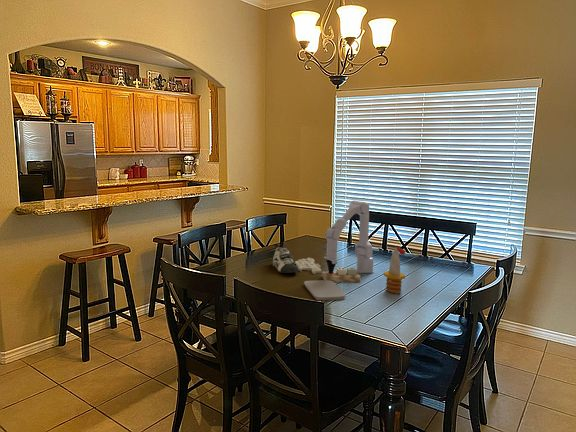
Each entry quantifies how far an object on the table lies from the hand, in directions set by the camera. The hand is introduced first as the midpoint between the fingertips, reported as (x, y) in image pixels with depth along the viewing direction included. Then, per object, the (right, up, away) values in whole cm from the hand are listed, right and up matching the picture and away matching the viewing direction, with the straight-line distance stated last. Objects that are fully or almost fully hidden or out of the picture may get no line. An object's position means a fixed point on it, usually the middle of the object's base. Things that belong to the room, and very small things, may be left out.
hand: (330, 272), depth 249 cm
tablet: (-6, -8, -21) cm, 23 cm away
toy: (+31, -8, -18) cm, 37 cm away
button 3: (0, -3, +1) cm, 3 cm away
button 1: (+12, -1, +2) cm, 12 cm away
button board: (+6, -4, +1) cm, 7 cm away
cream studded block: (+6, -1, +1) cm, 6 cm away
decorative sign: (-12, 0, +24) cm, 27 cm away
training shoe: (-27, -1, +17) cm, 32 cm away
